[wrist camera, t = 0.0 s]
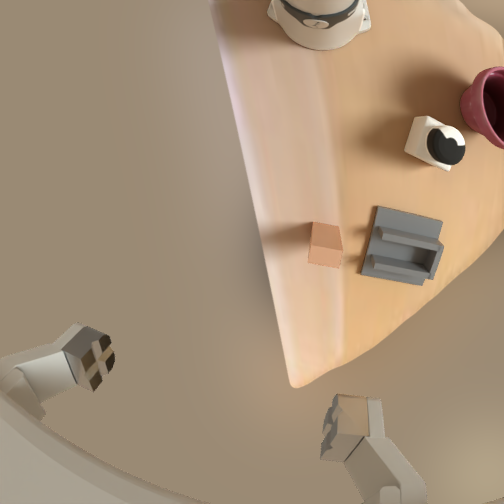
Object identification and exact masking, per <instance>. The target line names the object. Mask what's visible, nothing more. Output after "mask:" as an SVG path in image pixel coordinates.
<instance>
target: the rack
mask: <svg viewBox="0 0 504 504" xmlns="http://www.w3.org/2000/svg"><path fill="white" fill-rule="evenodd" d="M442 224H443V222H442V221H440V220H436V219H432V218H428V217H424V216H420V215H416V214H412V213H408V212H404V211H400V210H395V209H391V208H386V207H382V206H377V210H376V215H375V219H374V223H373V228H372V232H371V236H370V240H369V244H368V248H367V251H366V255H365V259H364V262H363V266H362V270H361V275H366V276H371V277H377V278H382V279H388V280H393V281H399V282H404V283H410V284H415V285H421V286H422V285H423V282H424V280H425V279H431V280H433V278H434V275H435V272H436V270H437V267H438V264H439V261H440V258H441V255H442V252H443V249H444V246H443V244H442V243H441V242H440V241H439V240H438V238H439V234H440V231H441V227H442Z"/></svg>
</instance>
